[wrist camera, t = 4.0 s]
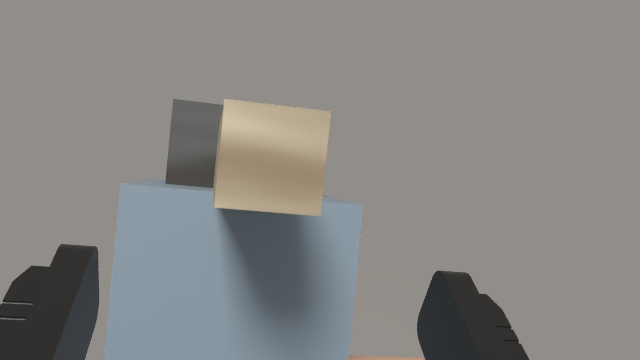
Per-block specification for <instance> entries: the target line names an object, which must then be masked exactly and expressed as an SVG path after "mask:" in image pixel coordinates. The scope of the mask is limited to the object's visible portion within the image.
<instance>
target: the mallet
mask: <svg viewBox="0 0 640 360" xmlns="http://www.w3.org/2000/svg"><path fill="white" fill-rule="evenodd" d="M330 115H331V112H330V111H322V110H313V109H306V108H297V107H289V106H279V105H272V104H264V103H255V102H247V101H239V100H230V99H224V104H223V105H219V104H210V103H202V102H193V101H184V100H176V99H174V100H173V108H172V119H171V130H170V140H169V151H168V161H167V171H166V182H165V184H173V185H184V186H195V187H206V188H213V195H214V208H226V209H238V210H250V211H262V212H274V213H287V214H299V215H311V216H321V208H322V198H323V188H324V177H325V167H326V156H327V146H328V135H329V125H330Z"/></svg>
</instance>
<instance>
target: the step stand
mask: <svg viewBox="0 0 640 360" xmlns="http://www.w3.org/2000/svg"><path fill="white" fill-rule="evenodd" d="M165 182H166V180H158V179H146V180H140V181H134V182H128V183H123V184H120V194H119V206H118V215H117V226H116V237H115V247H114V258H113V268H112V279H111V289H110V300H109V310H108V321H107V332H106V342H105V353H104V360H425V358H410V357H381V356H354V355H349V346H350V336H351V326H352V316H353V305H354V295H355V284H356V274H357V264H358V254H359V243H360V233H361V222H362V212H363V205H360V204H356V203H352V202H348V201H344V200H340V199H335V198H332V197H328V196H324V195H323V198H322V208H321V216H311V215H299V214H287V213H274V212H262V211H250V210H238V209H226V208H214V195H213V188H206V187H195V186H184V185H173V184H165Z"/></svg>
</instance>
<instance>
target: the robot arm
mask: <svg viewBox="0 0 640 360" xmlns="http://www.w3.org/2000/svg"><path fill="white" fill-rule="evenodd" d="M98 275H99V274H98V250H97V247H96V246H82V245H81V246H80V245H67V244H61V245H60V246H59V248H58V249H57V252H56V254H55V256H54V258H53V261H52V263H51V265H50V267H42V266H31V267H29V268H28V269H27V270H26V271H25V272H23V273H22V274H21V275H20V276H19V277H18V278H16V279H15V280H14V281H13V282H12V284H11V286H10V288H9V290H8V291H7V293H6V295H5V297H4V299H3V303H2V304H1V305H0V360H85V357H86V354H87V350H88V347H89V344H90V341H91V337H92V334H93V331H94V328H95V324H96V320H97V314H98V307H99V276H98ZM417 333H418V339H419V343H420V345H421V348H422V351H423V354H424V357H425V360H529V358H528V356H527V354H526V353H525V351H524V349H523V347H522V345H521V344H519V342H518V338H517V336H516V335H515V332H514V331H513V330H511V325H510V323H509V321H508V319H507V318H506V316H505V314H504V312H503V310H502V309H501V308H500V307H499V306H498V305H497V304H496V303H495V302H494V301H493V300H492V299H491V298H490V297H489V296H488V295H487V294H479V293H478V291H477V288H476V286H475V285H474V283H473V281H472V279H471V277H470V275H469V274H468V273H465V272H450V271H437V272H435V274H434V275H433V277H432V280H431V283H430V286H429V288H428V291H427V294H426V296H425V299H424V302H423V305H422V307H421V310H420V313H419V316H418V322H417Z"/></svg>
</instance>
